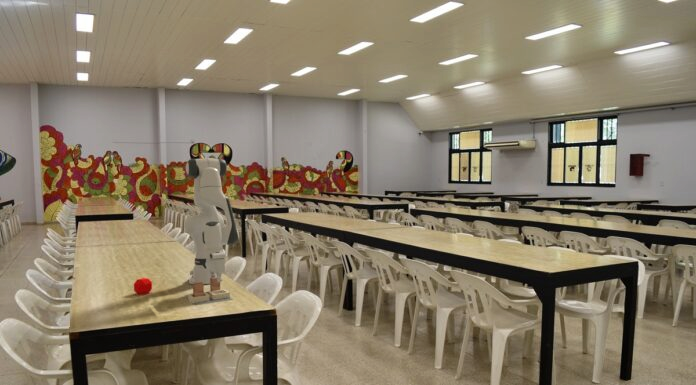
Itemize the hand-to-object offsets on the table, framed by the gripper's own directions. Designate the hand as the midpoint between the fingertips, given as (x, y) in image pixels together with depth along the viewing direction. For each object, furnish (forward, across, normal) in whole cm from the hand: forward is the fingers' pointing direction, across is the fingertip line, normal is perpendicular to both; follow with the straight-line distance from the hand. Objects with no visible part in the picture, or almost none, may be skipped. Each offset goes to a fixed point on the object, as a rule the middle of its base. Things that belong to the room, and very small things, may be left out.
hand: (215, 280), depth 251 cm
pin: (+6, +13, -12) cm, 19 cm away
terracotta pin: (+7, -1, 0) cm, 7 cm away
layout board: (+7, +13, -8) cm, 16 cm away
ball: (+6, -26, -31) cm, 41 cm away
